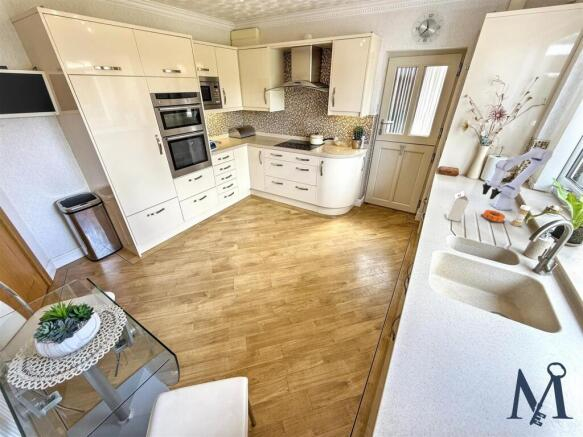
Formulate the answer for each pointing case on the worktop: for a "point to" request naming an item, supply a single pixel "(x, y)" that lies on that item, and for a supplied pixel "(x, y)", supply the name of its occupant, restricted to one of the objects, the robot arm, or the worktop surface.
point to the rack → (492, 220)
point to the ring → (489, 215)
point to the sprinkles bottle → (520, 215)
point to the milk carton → (457, 206)
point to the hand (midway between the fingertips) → (487, 196)
